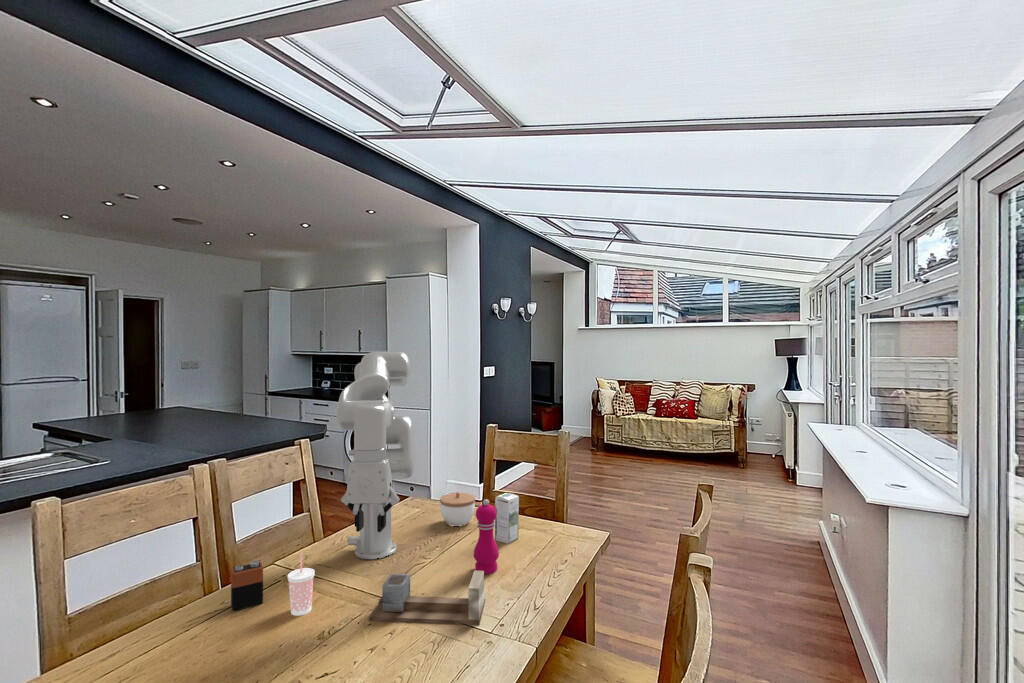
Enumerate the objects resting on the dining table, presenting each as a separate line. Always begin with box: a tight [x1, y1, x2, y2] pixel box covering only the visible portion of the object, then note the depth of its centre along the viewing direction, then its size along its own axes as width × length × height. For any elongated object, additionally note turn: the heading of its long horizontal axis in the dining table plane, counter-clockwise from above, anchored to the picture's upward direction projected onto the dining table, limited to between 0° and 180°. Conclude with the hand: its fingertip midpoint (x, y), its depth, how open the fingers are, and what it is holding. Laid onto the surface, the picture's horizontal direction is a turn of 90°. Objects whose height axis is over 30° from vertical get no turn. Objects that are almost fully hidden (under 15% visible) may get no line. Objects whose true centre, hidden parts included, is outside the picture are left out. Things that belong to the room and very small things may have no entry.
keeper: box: [381, 573, 411, 612], centre depth 121 cm, size 5×6×6 cm
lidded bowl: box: [439, 491, 476, 526], centre depth 179 cm, size 13×13×11 cm
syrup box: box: [494, 492, 520, 544], centre depth 164 cm, size 6×6×14 cm
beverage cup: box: [287, 552, 316, 617], centre depth 121 cm, size 6×6×14 cm
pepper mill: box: [473, 499, 500, 575], centre depth 142 cm, size 7×7×20 cm
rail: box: [368, 570, 486, 625], centre depth 120 cm, size 26×10×8 cm, turn 86°
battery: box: [230, 560, 264, 611], centre depth 124 cm, size 4×7×10 cm, turn 123°
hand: (370, 529), depth 122 cm, fingers open, 4 cm apart
